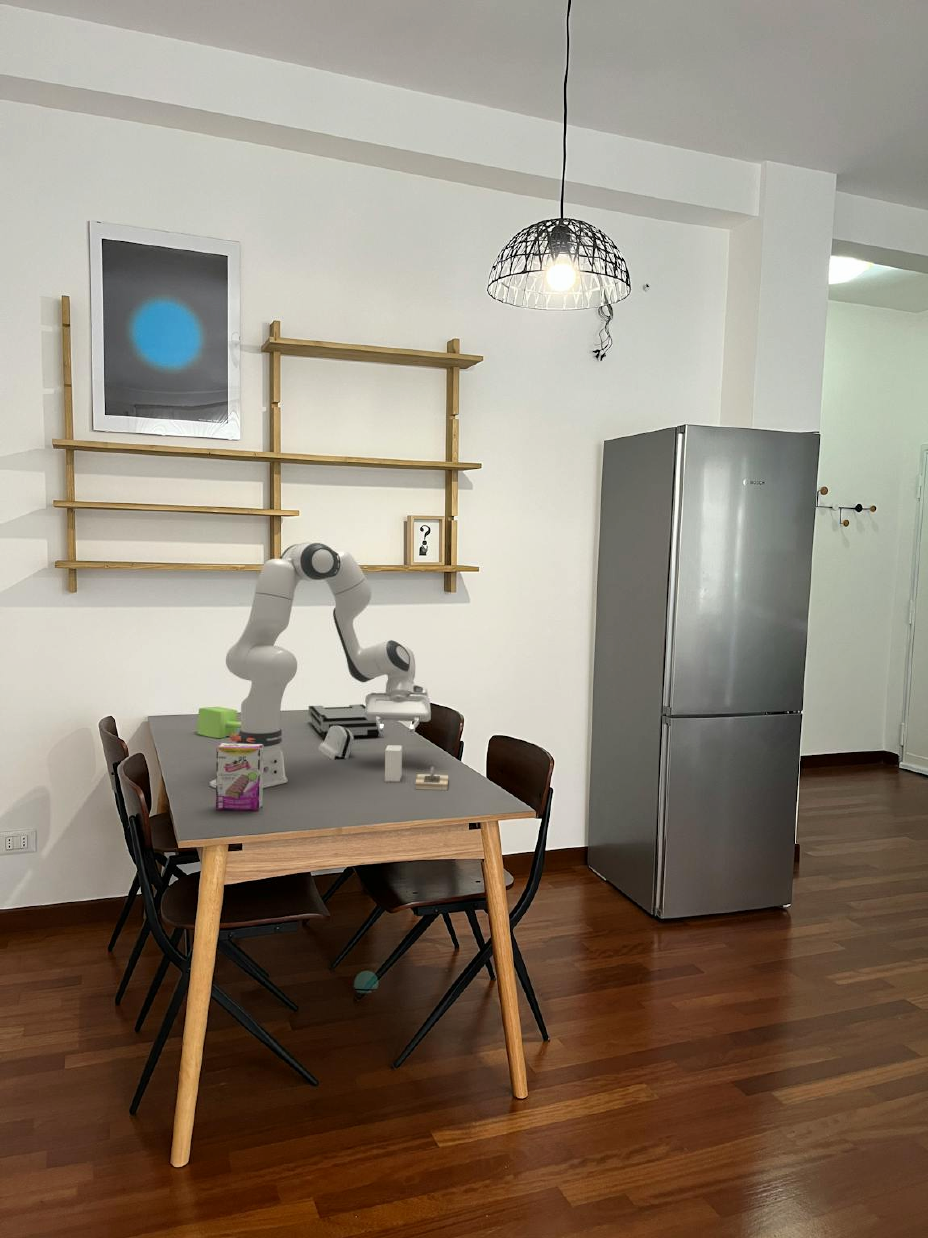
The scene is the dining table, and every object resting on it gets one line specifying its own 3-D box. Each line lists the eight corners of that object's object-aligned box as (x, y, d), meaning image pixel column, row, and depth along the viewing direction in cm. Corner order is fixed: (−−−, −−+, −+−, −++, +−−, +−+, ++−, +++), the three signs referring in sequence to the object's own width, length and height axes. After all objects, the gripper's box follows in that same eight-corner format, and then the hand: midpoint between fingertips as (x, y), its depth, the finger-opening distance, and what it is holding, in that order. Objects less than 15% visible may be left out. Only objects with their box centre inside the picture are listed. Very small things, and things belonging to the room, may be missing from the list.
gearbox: (249, 737, 327) (250, 710, 326) (228, 741, 318) (230, 713, 318) (212, 730, 336) (213, 704, 335) (191, 733, 327) (193, 706, 327)
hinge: (317, 749, 308) (327, 720, 309) (330, 752, 311) (340, 724, 311) (332, 760, 293) (343, 729, 294) (346, 763, 295) (356, 733, 296)
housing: (399, 781, 269) (400, 750, 268) (384, 781, 269) (385, 750, 268) (401, 775, 276) (402, 745, 275) (387, 775, 276) (387, 745, 275)
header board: (447, 790, 261) (447, 773, 260) (415, 789, 261) (415, 772, 260) (448, 780, 272) (448, 764, 271) (417, 779, 272) (417, 763, 271)
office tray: (362, 722, 358) (362, 701, 357) (381, 739, 327) (381, 716, 327) (308, 724, 351) (308, 702, 351) (322, 742, 321) (323, 718, 320)
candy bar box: (215, 810, 236) (215, 746, 234) (219, 805, 241) (219, 742, 239) (259, 811, 236) (260, 747, 235) (263, 805, 241) (263, 743, 240)
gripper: (365, 686, 287) (361, 724, 278) (431, 688, 287) (429, 726, 278) (366, 698, 292) (362, 736, 283) (432, 700, 292) (430, 737, 283)
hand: (396, 731), depth 280 cm, fingers open, 8 cm apart
